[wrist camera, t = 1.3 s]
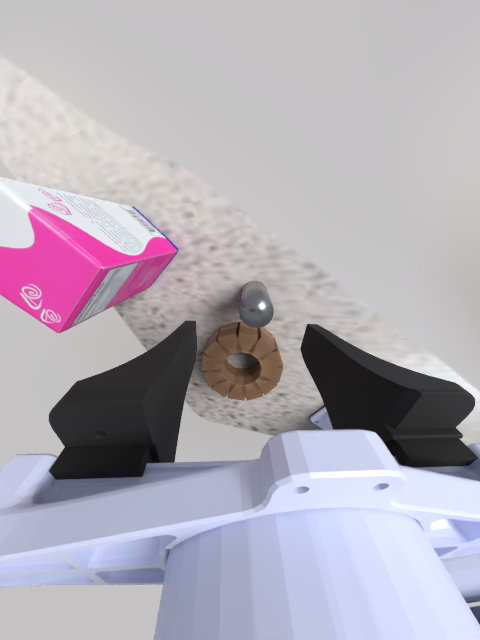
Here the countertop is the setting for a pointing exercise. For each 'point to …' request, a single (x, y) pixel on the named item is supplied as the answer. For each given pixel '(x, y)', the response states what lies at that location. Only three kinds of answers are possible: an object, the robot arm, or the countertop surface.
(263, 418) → the countertop surface
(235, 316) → the countertop surface
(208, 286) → the countertop surface
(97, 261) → the supplement box
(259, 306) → the metal peg
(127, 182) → the countertop surface
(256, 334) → the walnut bead
